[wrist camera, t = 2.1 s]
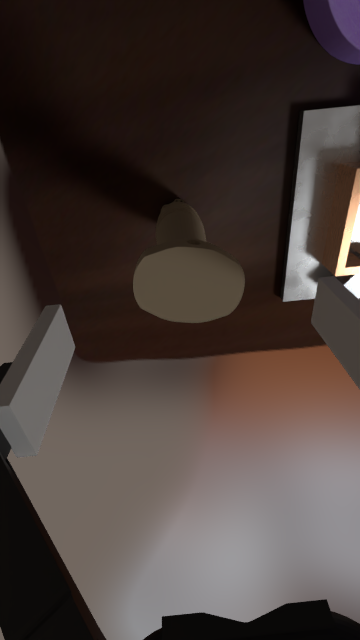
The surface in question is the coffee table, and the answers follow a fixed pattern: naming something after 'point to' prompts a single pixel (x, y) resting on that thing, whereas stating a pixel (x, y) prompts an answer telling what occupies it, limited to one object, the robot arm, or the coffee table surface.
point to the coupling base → (324, 203)
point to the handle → (186, 271)
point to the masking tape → (336, 27)
